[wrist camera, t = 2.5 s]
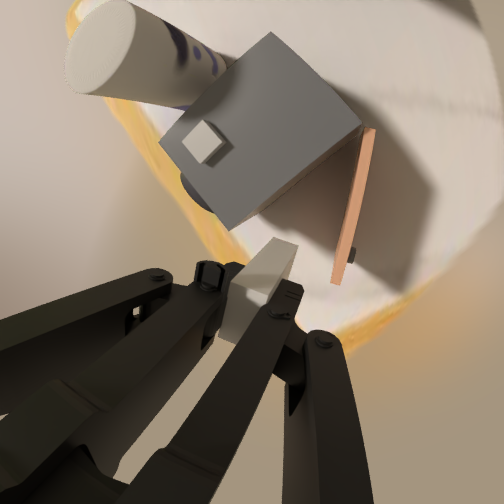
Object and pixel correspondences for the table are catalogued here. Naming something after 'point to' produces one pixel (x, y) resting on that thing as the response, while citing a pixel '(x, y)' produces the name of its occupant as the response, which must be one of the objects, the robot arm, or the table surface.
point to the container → (138, 58)
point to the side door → (353, 206)
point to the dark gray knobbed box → (257, 132)
